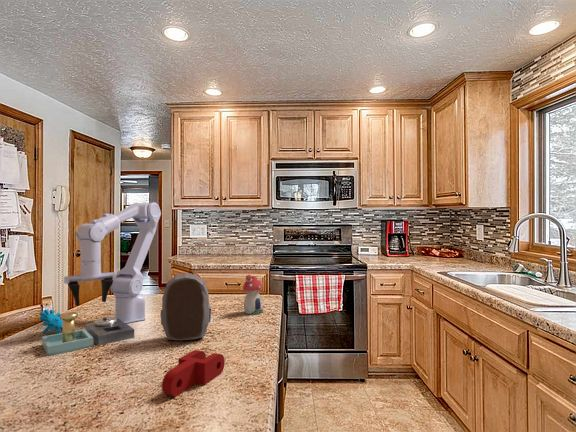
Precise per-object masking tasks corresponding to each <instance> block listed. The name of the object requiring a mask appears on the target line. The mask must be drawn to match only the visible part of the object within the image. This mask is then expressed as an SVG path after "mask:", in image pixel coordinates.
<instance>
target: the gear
mask: <svg viewBox="0 0 576 432" xmlns="http://www.w3.org/2000/svg"><path fill="white" fill-rule="evenodd" d="M55 313H56V311H55V310H54V309H50V310H49V309H48V308H47V309H44V310H42V311H41V312H40V313H39V315H40V317H39V320H40V321H43V322H42V325H43V327H45V328H44V329H43V330H42V331H41V333H42V334H47V332H48V331H50V332H53V330H55V331H54V333H55V334H60V333H62V331H63V320H62V319H60V314H61V312H57V313H56V314H55Z"/></svg>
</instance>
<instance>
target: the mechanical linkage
mask: <svg viewBox="0 0 576 432" xmlns="http://www.w3.org/2000/svg"><path fill="white" fill-rule="evenodd" d="M177 360H178V362H177V363H178V365H176V366H175V367H173V368H171V369H169V370H168V371H167V372H166V374H165V375H164V377H163V378H162V383H161V390H162V393H163V394H164V395H166V396H171V397H175V398H177V397H178V396H180V395H182V394H183V393H184V392H186V391H187V390H188V389H190V388H191V387H193V386H194V385H202V386H206V385H208V384H209V383H210V382H211V381H213V380H214V379H216V378H217V377H219V376H220V375H222V373H223V372H224V368H225V365H226V364H225V363H226V361H225V356H224V354H221V353H215V352H213V353H211V354H209V355H208V356H207V355H206V352H205V351H202V350H198V349H195V350H192V351H189V352H188V353H186V354H185V355H183V356H180V357H178V359H177Z"/></svg>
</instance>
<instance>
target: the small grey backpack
mask: <svg viewBox="0 0 576 432" xmlns="http://www.w3.org/2000/svg"><path fill="white" fill-rule="evenodd" d="M165 284H166V285H165V289H164V292H163V295H162V298H161V299H162V301H161V302H162V304H161V305H162V306H161V310H160V322H161V323H160V324H161V326H162V328H163V331H164V334H165V336H166V339H168V340H173V341H188V340H189V341H190V340H197V339H202V338H205V336H206V334H207V333H206V332H207V330H208V326H209V324H210V323H209V322H210V320H211V313H213V311H212V306H211V305H210V295H209V294H210V293H209V292H208V288H207V285H206V281H205V280H204V279H203V278H201V277H200V276H199V275H197V274H193V273H189V272H184V273H179V274H176V275H174V276H173V277H171V278H170V280H168V281H167V282H166V283H165Z"/></svg>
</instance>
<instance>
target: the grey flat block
mask: <svg viewBox="0 0 576 432" xmlns="http://www.w3.org/2000/svg"><path fill="white" fill-rule="evenodd" d="M85 330H86V331H87V332H88V333H89V334H90V335H91V336H92V337H93V342H95V343H96V344H97V345H99V346H100V345H101V346H102V345H105V344H111V343H115V342H118V341H119V342H120V341H124V340H129V339H133V338H135V329H134V328H133V327H132V326H130V325H129V324H128V323H124V322H123V321H122V320H120V319H119V318H115V317H113V316H107V317H106V316H105V317H100V318H97V319H95V320H94V321H93V322H89V323H88V322H87V323H85Z"/></svg>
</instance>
